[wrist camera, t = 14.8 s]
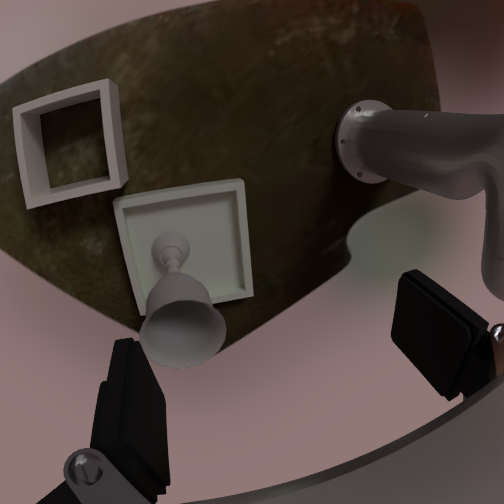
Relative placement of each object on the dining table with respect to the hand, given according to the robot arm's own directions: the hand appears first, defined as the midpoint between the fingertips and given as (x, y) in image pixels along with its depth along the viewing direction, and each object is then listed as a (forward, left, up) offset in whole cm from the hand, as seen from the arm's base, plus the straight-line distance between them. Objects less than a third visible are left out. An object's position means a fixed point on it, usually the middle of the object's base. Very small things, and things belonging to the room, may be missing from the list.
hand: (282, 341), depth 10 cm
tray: (+3, +8, -31) cm, 32 cm away
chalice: (+5, +8, -30) cm, 32 cm away
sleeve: (+15, -8, -31) cm, 35 cm away
